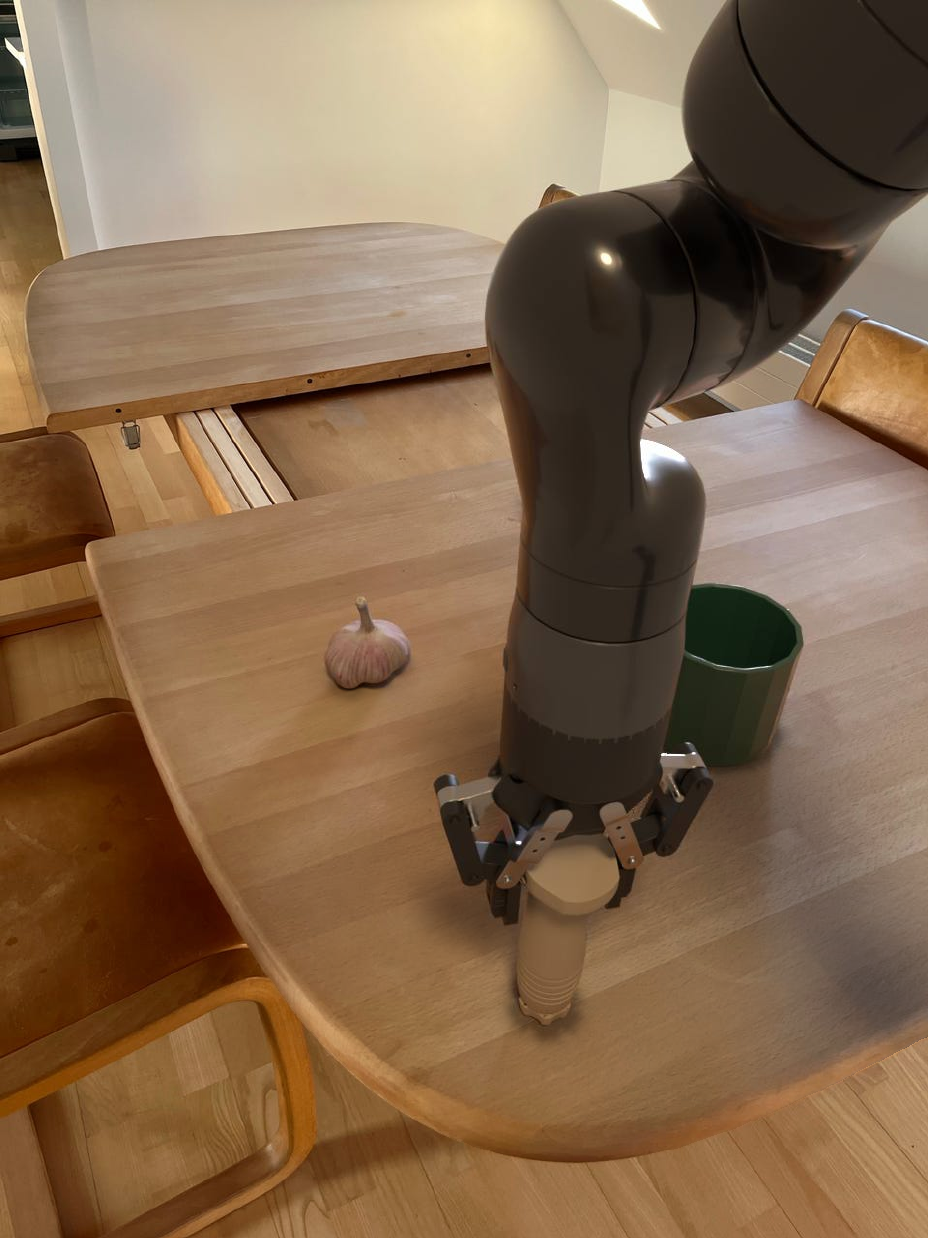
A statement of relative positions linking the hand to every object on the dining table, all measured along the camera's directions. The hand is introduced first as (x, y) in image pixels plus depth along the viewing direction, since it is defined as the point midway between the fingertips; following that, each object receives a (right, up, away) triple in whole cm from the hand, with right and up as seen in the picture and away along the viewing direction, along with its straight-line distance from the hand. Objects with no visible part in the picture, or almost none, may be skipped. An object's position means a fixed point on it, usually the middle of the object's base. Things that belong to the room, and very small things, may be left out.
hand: (557, 902), depth 52 cm
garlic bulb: (-14, +11, +31) cm, 35 cm away
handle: (0, -8, +7) cm, 11 cm away
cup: (+15, +7, +27) cm, 32 cm away
